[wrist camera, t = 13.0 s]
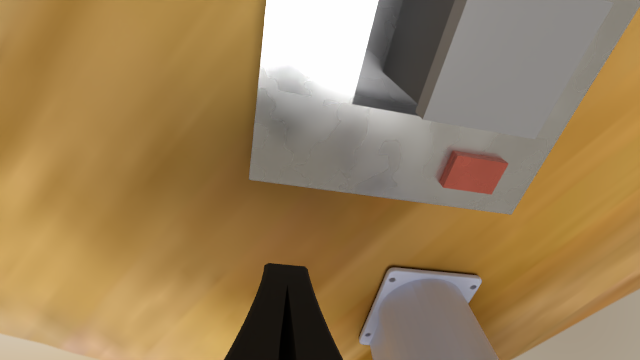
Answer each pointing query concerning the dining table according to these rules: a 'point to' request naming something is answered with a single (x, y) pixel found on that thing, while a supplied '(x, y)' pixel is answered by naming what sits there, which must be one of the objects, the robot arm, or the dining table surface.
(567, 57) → the plug
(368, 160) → the socket
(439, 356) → the robot arm
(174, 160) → the dining table surface
